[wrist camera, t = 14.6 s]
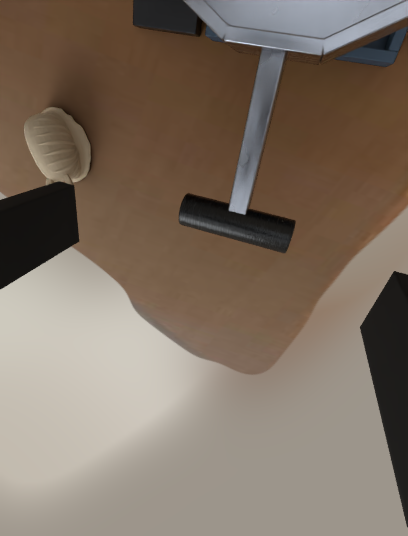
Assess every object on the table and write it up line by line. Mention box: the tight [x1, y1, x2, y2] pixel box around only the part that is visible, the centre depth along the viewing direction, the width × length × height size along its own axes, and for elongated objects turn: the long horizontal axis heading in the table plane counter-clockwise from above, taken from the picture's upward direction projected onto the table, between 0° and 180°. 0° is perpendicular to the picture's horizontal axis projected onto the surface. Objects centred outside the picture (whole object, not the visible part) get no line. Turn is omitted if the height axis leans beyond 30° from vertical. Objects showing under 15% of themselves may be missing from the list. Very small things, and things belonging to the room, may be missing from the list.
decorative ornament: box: [24, 107, 91, 185], centre depth 27 cm, size 4×8×5 cm, turn 12°
